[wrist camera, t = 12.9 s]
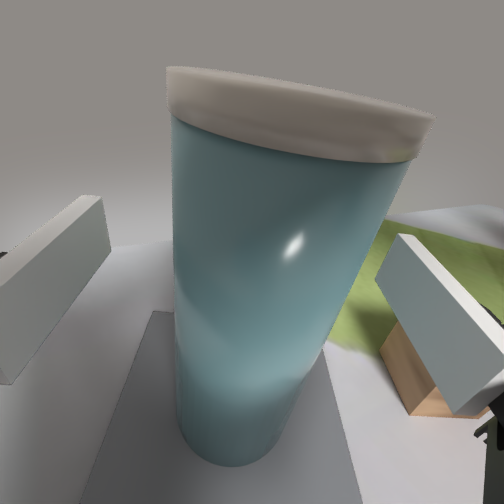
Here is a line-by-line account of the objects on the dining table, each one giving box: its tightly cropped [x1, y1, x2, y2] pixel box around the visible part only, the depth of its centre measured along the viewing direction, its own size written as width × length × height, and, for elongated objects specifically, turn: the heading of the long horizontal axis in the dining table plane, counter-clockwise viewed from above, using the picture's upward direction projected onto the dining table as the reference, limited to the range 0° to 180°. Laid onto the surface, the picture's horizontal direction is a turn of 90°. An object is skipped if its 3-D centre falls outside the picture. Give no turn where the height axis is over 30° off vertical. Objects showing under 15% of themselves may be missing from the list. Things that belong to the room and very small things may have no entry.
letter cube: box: [379, 320, 490, 419], centre depth 23 cm, size 6×6×6 cm
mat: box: [79, 311, 363, 504], centre depth 20 cm, size 16×16×1 cm
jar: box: [166, 66, 436, 467], centre depth 15 cm, size 8×8×20 cm
